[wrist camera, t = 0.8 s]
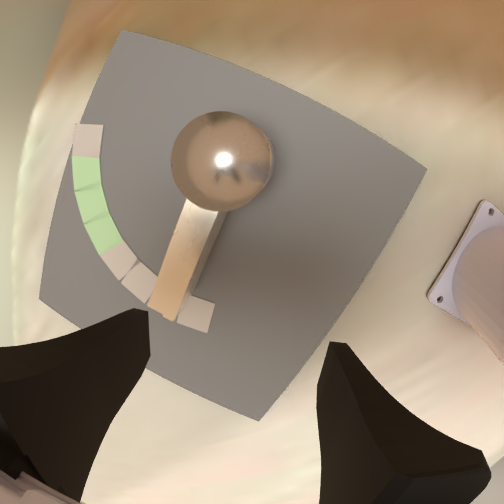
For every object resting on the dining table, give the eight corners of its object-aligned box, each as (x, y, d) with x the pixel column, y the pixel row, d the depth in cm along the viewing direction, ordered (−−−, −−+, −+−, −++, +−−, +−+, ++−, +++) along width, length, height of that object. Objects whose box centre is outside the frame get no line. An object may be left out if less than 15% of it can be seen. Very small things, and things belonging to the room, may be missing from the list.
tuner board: (421, 167, 17) (428, 169, 16) (259, 413, 24) (258, 422, 23) (126, 32, 17) (118, 28, 16) (43, 293, 24) (36, 298, 23)
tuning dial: (216, 109, 17) (193, 97, 13) (288, 140, 17) (287, 135, 13) (144, 295, 21) (114, 327, 17) (203, 325, 21) (183, 363, 17)
